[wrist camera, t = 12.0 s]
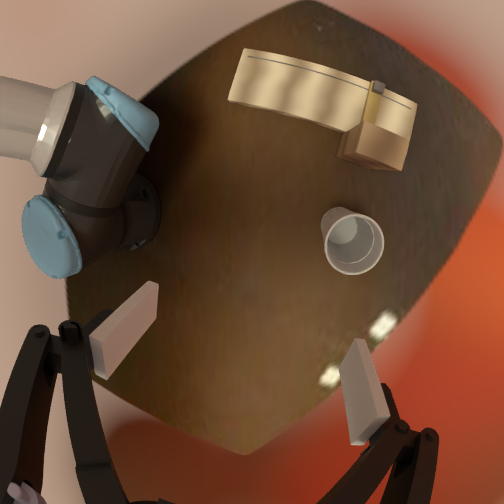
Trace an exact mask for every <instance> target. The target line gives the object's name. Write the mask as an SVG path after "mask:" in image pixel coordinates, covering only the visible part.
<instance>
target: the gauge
mask: <svg viewBox="0 0 504 504" xmlns="http://www.w3.org/2000/svg"><path fill="white" fill-rule="evenodd" d="M384 89H385V84H384V83H381V82H379V81H377V80H376V81H371V82H370V84H369V89H368V93H367V98H366V102H365V106H364V110H363V114H362V118H361V122H360V124H358V125H356V126H355V127H353V128H351V129H350V130H348V131H347V132H345V133H343V134H342V136H341V139H340V143H339V147H338V150H337V154H336V157H337V158H340V159H343V160H346V161H348V162H351V163H354V164H357V165H359V166H362V167H364V168H367V169H374V170H393V171H402V167H403V163H404V160H405V156H406V152H407V148H408V144H409V140H408V139H406V138H403V137H401V136H399V135H397V134H395V133H393V132H390V131H388V130H386V129H384V128H381V127H379V126H377V125H375V123H376V118H377V114H378V110H379V106H380V101H381V97H382V94H383V93H384Z"/></svg>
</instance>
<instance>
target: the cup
mask: <svg viewBox="0 0 504 504" xmlns="http://www.w3.org/2000/svg"><path fill="white" fill-rule="evenodd" d="M321 231H322V234H323V240H324V248H325V254H326V257H327V259H328V261H329V263H330V264H331V265H332V267H333V268H335V269H336V270H337V271H339V272H341V273H344V274H348V275H357V274H362V273H364V272H366V271H368V270H370V269H371V268H372V267H374V266H375V265H376V263H377V262H378V261H379V259H380V257H381V255H382V253H383V249H384V237H383V233H382V231H381V228H380V227H379V225H378V224H377V223H376V222H375V221H374V220H373V219H371V218H370V217H368V216H365V215H362V214H359V213H355V212H352V211H350V210H349V209H347V208H344V207H335V208H332V209H330V210H328V211H327V212H326V213H325V214H324V216H323V218H322V221H321Z"/></svg>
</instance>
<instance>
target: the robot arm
mask: <svg viewBox="0 0 504 504" xmlns="http://www.w3.org/2000/svg"><path fill="white" fill-rule="evenodd" d="M85 84H86V85H82V84H79V83H76V82H73V81H72V82H70V83H68V84H66V85H64V86H62V87H60V88H58V89H51V88H47V87H43V86H40V85H37V84H33V83H29V82H25V81H21V80H17V79H13V78H8V77H4V76H0V156H4V157H10V158H16V159H21V160H27V161H29V162H30V163H31V164H32V165H33V168H34V170H35V172H36V174H37V175H38V176H40V177H45V178H47V181H46V184H45V188H44V191H43V194H42V195H36V196H34V197H33V198H32V199H31V200H29V201H28V202H27V203H26V205H25V207H24V210H23V214H22V231H23V237H24V241H25V243H26V246H27V249H28V252H29V254H30V256H31V258H32V259H33V261H34V262H35V264H36V265H37V266H38V267H39V269H41V270H42V271H43V272H44V273H45V274H46V275H48V276H50V277H52V278H55V279H61V278H66V277H68V276H70V275H73V274H76V273H78V272H80V270H81V269H83V268H85V267H86V266H88V265H90V264H91V263H93V262H95V261H97V260H98V259H100V258H102V257H104V256H105V255H107V254H109V253H111V252H112V251H131V250H135V249H138V248H140V247H141V246H143V245H145V244H146V243H148V242H149V241H150V240H151V239H152V238H153V236H154V235H155V233H156V232H157V229H158V227H159V223H160V218H161V206H160V201H159V197H158V194H157V192H156V190H155V188H154V187H153V185H152V184H151V183H150V181H149V180H148V179H146V178H145V177H144V176H142V175H141V174H139V173H136V171H137V169H138V167H139V165H140V163H141V161H142V159H143V157H144V156H145V154H146V152H148V151H149V149H150V148H149V146H150V144H151V142H152V140H153V138H154V136H155V134H156V132H157V130H158V127H159V119H158V117H157V115H156V114H155V113H154V112H153V111H151V110H150V109H148V108H147V107H145V106H144V105H142V104H141V103H139V102H138V101H136V100H135V99H133V98H131V97H130V96H128V95H127V94H125V93H123V92H122V91H120V90H119V89H117V88H115V87H114V86H112V85H110V84H109V83H107V82H105V81H103V80H101V79H100V78H98V77H96V76H92V77H90V79H89V80H87V81H86V83H85ZM158 288H159V284H157V283H154V282H151V281H148V282H146V283H145V284H144V285H143V286H142V287H141V288H140V289H139V290H137V291H136V292H135V293H134V294H133V295H132V296H131V297H130V298H129V299H127V300H126V301H125V302H124V303H123V304H122V305H121V306H120V307H119V308H118V309H117V310H115V311H111V310H109V309H107V310H104V311H102V312H100V313H99V314H98V315H96V316H95V318H93V319H92V320H91V321H90V322H88V323H87V324H86V325H85V326H84V327H82V325H81V324H80V323H79V322H77V321H75V320H66V321H64V322H62V323H61V324H60V325H59V327H58V329H59V335H60V337H59V336H55V335H52V334H50V331H49V328H48V327H47V326H45V325H34V326H33V327H31V329H30V330H29V332H28V334H27V336H26V338H25V340H24V343H23V345H22V347H21V350H20V352H19V355H18V357H17V360H16V362H15V365H14V367H13V370H12V373H11V376H10V378H9V381H8V384H7V387H6V390H5V394H4V397H3V400H2V404H1V407H0V504H47V503H46V502H45V500H44V498H43V497H42V496H41V490H42V483H43V466H44V452H45V442H46V433H47V426H48V419H49V413H50V407H51V402H52V397H53V392H54V387H55V383H56V378H57V374H58V373H61V374H62V380H63V392H64V401H65V409H66V416H67V422H68V428H69V434H70V438H71V444H72V448H73V453H74V457H75V461H76V468H75V469H76V474H77V478H78V482H79V485H80V488H81V491H82V494H83V497H84V500H85V503H86V504H174V503H171V502H168V501H165V500H163V499H160V498H159V500H158V502H156V501H135V502H131V503H130V502H129V500H128V498H127V496H126V494H125V491H124V490H123V487H122V485H121V482H120V480H119V477H118V475H117V472H116V470H115V466H114V464H113V461H112V458H111V455H110V452H109V449H108V445H107V442H106V439H105V436H104V432H103V428H102V425H101V421H100V417H99V413H98V408H97V404H96V400H95V395H94V390H93V385H92V379H91V374H90V371H91V370H92V369H93V367H94V370H95V374H96V375H98V376H100V377H102V378H104V379H106V380H107V379H108V378H109V377H110V376H111V374H112V373H113V372H114V370H115V369H116V368H117V367H118V365H119V364H120V363H121V361H122V360H123V359H124V358H125V356H126V355H127V354H128V353H129V351H130V350H131V349H132V348H133V346H134V345H135V344H136V342H137V341H138V340H139V339H140V338H141V336H142V335H143V334H144V333H145V331H146V330H147V329H148V328H149V326H150V325H151V324H152V323H153V321H154V320H155V319H156V311H157V299H158ZM339 373H340V379H341V384H342V390H343V395H344V401H345V408H346V414H347V420H348V427H349V434H350V441H351V445H364V444H365V443H366V441H368V440H369V443H370V445H369V446H368V447H367V448H366V449H365V450H364V451H363V452H362V453H361V454H360V455H361V456H360V457H359V458H358V459H357V461H356V462H355V463H354V464H353V465H352V466H351V468H350V469H349V470H348V471H347V472H346V474H345V475H344V476H343V477H342V478H341V479H340V480H339V481H338V482H337V483H336V484H335V485H334V487H333V488H332V489H331V490H330V491H329V492H328V493H327V494H326V495H325V496H324V497H323V498H322V499H321V500H320V501H319V502H317V504H365V503H366V502H367V500H368V499H369V498H370V496H371V495H372V494H373V492H374V491H375V489H376V488H377V487H378V485H379V484H380V482H381V481H382V479H383V478H384V476H385V475H386V473H387V472H388V470H389V469H390V467H391V466H392V464H393V466H392V470H391V473H390V476H389V479H388V482H387V485H386V488H385V491H384V494H383V496H382V499H381V502H380V504H430V499H431V494H432V489H433V484H434V478H435V472H436V465H437V456H438V446H439V435H438V434H437V432H436V431H435V430H434V429H432V428H425V429H423V430H422V431H421V432H416V431H413V430H410V427H409V425H408V424H407V423H406V422H405V421H404V420H401V419H400V417H399V414H398V411H397V408H396V405H395V402H394V399H393V397H392V393H391V390H390V389H389V387H388V386H387V385H386V384H385V383H380V381H379V378H378V375H377V372H376V369H375V366H374V363H373V360H372V358H371V355H370V352H369V349H368V346H367V344H366V341H365V340H364V339H359V338H355V339H354V341H353V343H352V345H351V347H350V348H349V350H348V352H347V354H346V356H345V358H344V359H343V361H342V363H341V365H340V366H339Z"/></svg>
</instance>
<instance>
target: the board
mask: <svg viewBox="0 0 504 504" xmlns="http://www.w3.org/2000/svg"><path fill="white" fill-rule="evenodd" d="M369 84H370V82H368V81H365V80H363V79H360V78H358V77H355V76H352V75H349V74H347V73H344V72H341V71H338V70H335V69H332V68H328V67H325V66H322V65H318V64H315V63H311V62H308V61H304V60H300V59H296V58H292V57H288V56H283V55H279V54H274V53H269V52H264V51H258V50H252V49H246V48H244V50H243V53H242V56H241V59H240V62H239V65H238V68H237V71H236V74H235V77H234V81H233V84H232V87H231V90H230V93H229V97H228V101H229V102H230V103H235V104H240V105H245V106H250V107H254V108H259V109H263V110H267V111H271V112H275V113H279V114H283V115H287V116H291V117H294V118H298V119H301V120H305V121H308V122H311V123H314V124H318V125H321V126H324V127H327V128H330V129H333V130H336V131H339V132H341V133H345V132H347V131H348V130H350V129H351V128H353V127H355V126H356V125H358V124H360V122H361V118H362V114H363V110H364V106H365V102H366V98H367V93H368V89H369ZM416 109H417V104H416V103H414V102H412V101H410V100H408V99H406V98H404V97H402V96H400V95H398V94H396V93H394V92H391V91H389V90H387V89H384V93H383V94H382V97H381V101H380V106H379V110H378V114H377V118H376V123H375V125H377V126H379V127H381V128H384V129H386V130H388V131H390V132H393V133H395V134H397V135H399V136H401V137H403V138H406V139H408V140H409V141H410V137H411V133H412V128H413V124H414V119H415V114H416ZM408 146H409V144H408ZM407 150H408V148H407ZM406 154H407V152H406ZM405 157H406V156H405Z"/></svg>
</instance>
